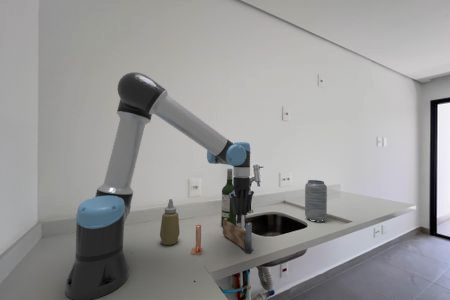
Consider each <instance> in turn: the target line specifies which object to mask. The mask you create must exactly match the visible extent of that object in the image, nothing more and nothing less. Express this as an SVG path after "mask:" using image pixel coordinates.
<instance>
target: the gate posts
mask: <svg viewBox="0 0 450 300" xmlns="http://www.w3.org/2000/svg"><path fill="white" fill-rule="evenodd" d="M252 229H253V223H252V222H250V221H248V222H246V221H245V249H244V248H242V251H243V252H244V253H246V254H248V255H249V254H252V252H254V251H255V249H254V246H253V245H252V241H253V239H252V237H253V235H252V233H253V231H252ZM191 254H193V255H195V256H199V255H203V247H202V224H196V225H195V247H191V251H190V255H191ZM193 255H192V256H193Z"/></svg>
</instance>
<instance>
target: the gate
mask: <svg viewBox="0 0 450 300" xmlns="http://www.w3.org/2000/svg"><path fill="white" fill-rule="evenodd" d="M245 231H246V229H244V230H243V229H241V228H239V227H238V225H237V224H236V225H234V224H232V223H230V222H229V221H227V218H224V221H223V227H222V235H223V236H225V237H226V238H227V239H229V240H231V241H232V243H233V242H234V244H236V245H238V246H239V247H241V248H242V249H243V248H244V249H245Z"/></svg>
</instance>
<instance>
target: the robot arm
mask: <svg viewBox="0 0 450 300" xmlns="http://www.w3.org/2000/svg"><path fill="white" fill-rule="evenodd" d="M117 94H118V96H119V103H118V107H117V111H116V114H117V115H118V117H119V122H118V127H117V130H116V134H115V138H114V142H113V145H112V150H111V153H110V157H109V158H110V159H109V161H108V165H107V170H106V174H105V178H104V182H103V184H101V185H100V186H98V187H97V189H96V193H95V196H94V197H92V198H87V199H85V200H84V201H83V202H80V204H79V205H78V208H77V212H76V216H75V220H76V229H75V230H76V231H75V232H76V234H75V235H76V236H75V259H74V260H75V261H74V262H73V265H72V268H71V270H70V273H69V275H68V277H67V280H66V284H65V294H66V296H67V297H68V298H69V299H71V300H94V299H99V298H100V297H103V296H107V295H108V294H110V293H113V292H114V291H116V290H118V288H121V287H122V286H123V284H125V283H126V281H128V278H129V273H130V269H129V268H130V267H129V263H128V260H127V258H126V255H125V251H124V236H125V235H124V234H125V233H124V231H125V223H126V221H127V218H128V216H129V214H130V212H131V207H132V206H131V204H132V199H133V195H134V191H133V189H132V187H131V184H132V180H133V176H134V173H135V172H134V171H135V168H136V164H137V159H138V156H139V151H140V149H141V148H140V147H141V143H142V139H143V135H144V131H145V126H146V125H147V124H148V123H150V122H151V119H152V116H153V115H155V116H157V117H159V118H160V119H161V120H163V121H164V122H165V123H167V124H168V125H170V126H172V127H173V128H174V129H176V130H177V131H179V132H181V134H183V135H184V136H186V137H188V138H189V139H191V140H192V141H194V142H195V143H196V144H198V145H199V146H200V147H202V148H203V149H205V150H207V151H206V159H207V162H208V164H211V165H212V164H213V165H216V164H217V165H218V164H219V165H220V164H221V165H228V166H231V167H233V168H232V176H233V177H232V184H233V185H234V188H233V191H232V192H231V193H229V194H228V195H229V197H230V199H231V204H232V209H233V213H234V214H236V223H237V226H238V227H239V228H241V229H243V230H245V226H246V220H247V217H246V216H247V215H248V214H249V213H250V210H251V205H252V199H253V195H254V194H255V191H253V190H251V187H250V185H251V178H250V176H251V144H250V143H249V142H247V141H236V142H232V141H231V140H229V139H228V138H226V137H225V136H224V135H222V134H221V133H220V132H219V131H217V130H216V129H214V128H213V127H211V125H209V124H208V123H206V121H204V120H202V119H201V118H200V117H198V116H197V115H196V114H194V113H192V112H191V111H190V110H189V109H188V108H186V107H185V106H183V105H182V104H181V103H179V102H178V101H176V100H175V99H174V98H172V97H171V96H170V95H169V94H168V90H167V89H166V88H165V87H163V86H162V85H161V84H159V83H158V82H156V81H155V80H154V79H152V78H150V76H149V75H148V76H147V75H146V74H144V73H141V72H135V71H134V72H129V73H126V74H124V75H122V77H121V78H120V79H119V80H118V83H117ZM235 195H236V198H235ZM236 200H237V202H236Z"/></svg>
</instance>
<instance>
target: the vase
mask: <svg viewBox="0 0 450 300" xmlns="http://www.w3.org/2000/svg"><path fill="white" fill-rule="evenodd" d="M327 187H328V186H327V185H326V183H325V181H324V180H317V179H308V180H307V182H306V183H305V186H304V189H305V190H304V216H305V218H307V220H308V219H311V220H315V221H322V220H324V221H326V220H327V217H328V215H327V214H328V213H327V210H328V209H327V208H328V204H327V203H328V198H327V197H328V192H327V191H328V188H327Z"/></svg>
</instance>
